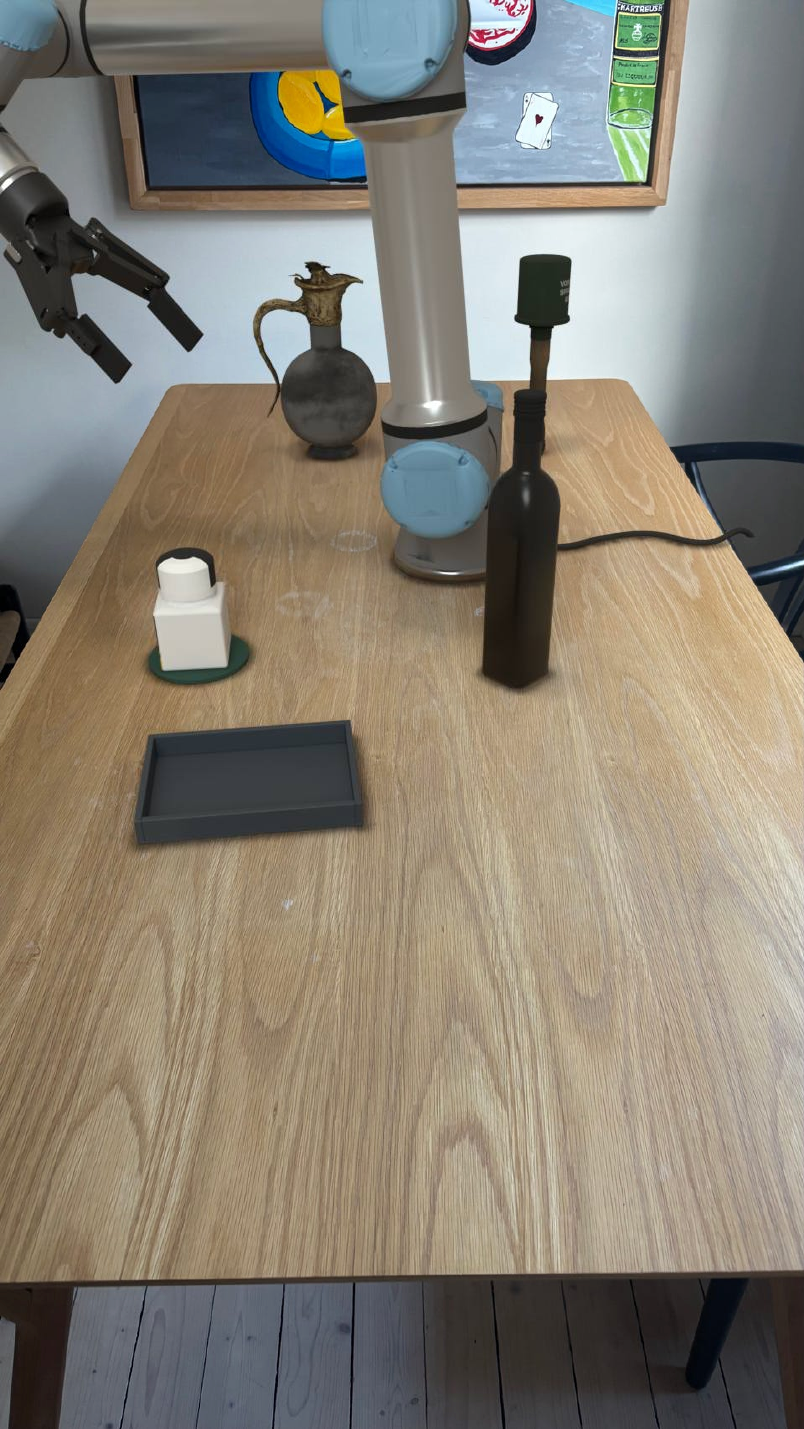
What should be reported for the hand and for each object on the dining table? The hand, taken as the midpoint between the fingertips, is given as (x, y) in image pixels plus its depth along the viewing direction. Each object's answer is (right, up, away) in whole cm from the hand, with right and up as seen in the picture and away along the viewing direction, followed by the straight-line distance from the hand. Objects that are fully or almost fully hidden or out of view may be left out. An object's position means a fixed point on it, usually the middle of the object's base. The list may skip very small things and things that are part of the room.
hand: (162, 358), depth 108 cm
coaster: (+3, -31, +6) cm, 32 cm away
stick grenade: (+47, +6, +62) cm, 78 cm away
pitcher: (+12, +6, +63) cm, 64 cm away
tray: (+12, -44, -15) cm, 48 cm away
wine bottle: (+37, -33, +2) cm, 50 cm away
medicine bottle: (+3, -31, +5) cm, 32 cm away
